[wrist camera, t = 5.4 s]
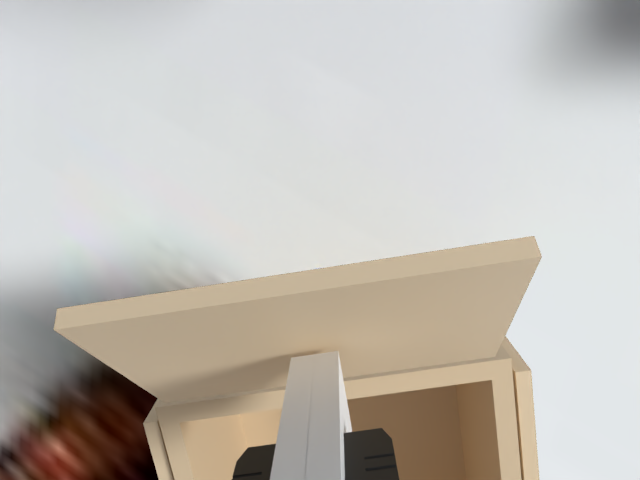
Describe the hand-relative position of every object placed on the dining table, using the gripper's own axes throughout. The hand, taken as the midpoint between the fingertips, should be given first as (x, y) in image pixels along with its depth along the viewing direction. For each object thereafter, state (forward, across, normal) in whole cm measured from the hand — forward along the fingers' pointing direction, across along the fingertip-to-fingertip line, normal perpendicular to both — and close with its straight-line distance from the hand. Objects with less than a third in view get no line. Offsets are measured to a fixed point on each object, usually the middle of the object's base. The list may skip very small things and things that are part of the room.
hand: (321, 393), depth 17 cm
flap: (+3, 0, -1) cm, 3 cm away
